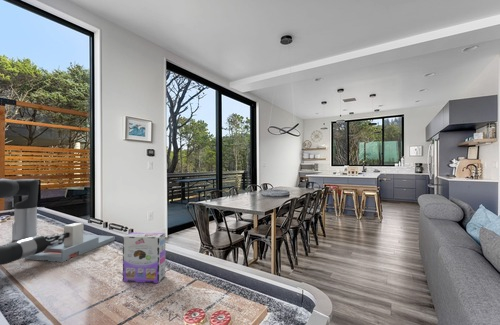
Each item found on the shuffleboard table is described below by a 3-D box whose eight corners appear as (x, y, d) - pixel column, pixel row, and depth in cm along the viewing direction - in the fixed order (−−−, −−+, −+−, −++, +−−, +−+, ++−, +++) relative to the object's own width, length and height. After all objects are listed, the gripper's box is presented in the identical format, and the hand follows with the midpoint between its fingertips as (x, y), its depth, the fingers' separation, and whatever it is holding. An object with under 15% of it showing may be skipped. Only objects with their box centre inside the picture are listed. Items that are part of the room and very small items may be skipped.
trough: (62, 262, 100) (62, 250, 100) (25, 258, 104) (25, 247, 104) (114, 240, 130) (114, 231, 130) (84, 237, 133) (84, 229, 133)
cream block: (72, 247, 113) (72, 226, 113) (63, 246, 114) (63, 225, 114) (83, 243, 119) (83, 223, 119) (74, 242, 120) (75, 222, 120)
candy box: (165, 276, 89) (166, 232, 89) (158, 284, 83) (158, 237, 83) (131, 274, 90) (132, 231, 90) (121, 281, 84) (122, 235, 84)
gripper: (42, 238, 95) (79, 227, 112) (15, 236, 98) (56, 226, 115) (41, 257, 95) (79, 243, 112) (15, 254, 97) (56, 241, 115)
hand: (68, 234), depth 113 cm, fingers closed
